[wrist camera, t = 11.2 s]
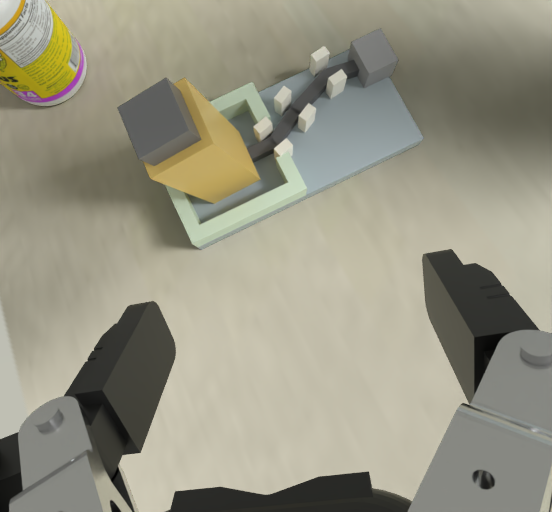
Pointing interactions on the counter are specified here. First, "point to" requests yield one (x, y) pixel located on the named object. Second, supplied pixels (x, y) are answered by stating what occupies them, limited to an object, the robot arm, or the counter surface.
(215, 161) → the block
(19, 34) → the supplement bottle
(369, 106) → the board
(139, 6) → the counter surface
